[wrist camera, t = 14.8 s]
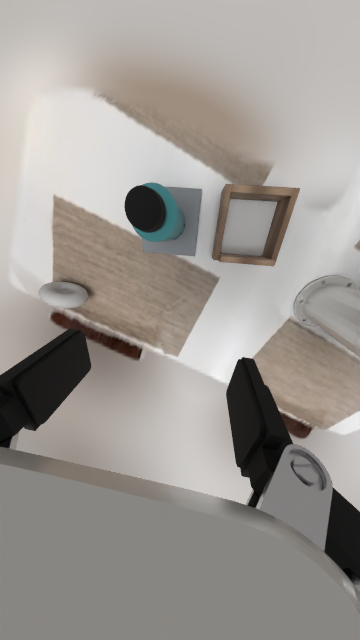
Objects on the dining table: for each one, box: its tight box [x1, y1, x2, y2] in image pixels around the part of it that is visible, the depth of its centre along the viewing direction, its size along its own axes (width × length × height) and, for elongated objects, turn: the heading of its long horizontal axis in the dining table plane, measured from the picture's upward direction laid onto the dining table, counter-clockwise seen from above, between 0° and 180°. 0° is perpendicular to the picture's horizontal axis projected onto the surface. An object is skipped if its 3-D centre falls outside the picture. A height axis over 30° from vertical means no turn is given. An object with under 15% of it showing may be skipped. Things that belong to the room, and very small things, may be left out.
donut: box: [39, 282, 88, 308], centre depth 39 cm, size 10×4×10 cm, turn 71°
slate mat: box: [142, 187, 202, 256], centre depth 34 cm, size 12×12×1 cm
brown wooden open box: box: [212, 184, 300, 266], centre depth 30 cm, size 12×12×7 cm
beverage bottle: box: [125, 183, 186, 242], centre depth 25 cm, size 6×7×20 cm
